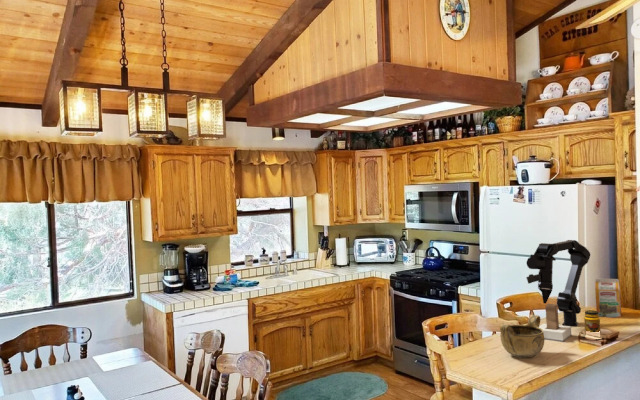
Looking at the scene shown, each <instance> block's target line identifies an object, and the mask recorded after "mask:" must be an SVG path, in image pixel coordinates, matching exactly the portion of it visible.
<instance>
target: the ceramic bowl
mask: <svg viewBox="0 0 640 400" xmlns="http://www.w3.org/2000/svg"><path fill="white" fill-rule="evenodd" d="M539 326H541V317H540V315H537V314H531V315H529V318H528V320H527V323H526V324H507V323H501V324H500V327H499V330H500V336H499V337H500V341H501V342H500V343H501V345H502V347H503V348H504V350H505V351H506V352H507V353H508V354H510V355H512V356H514V357H517V358H521V359H528V358H533V357H535V356H537V355H538V354H540V352H542V350H543V348H544V345H545V339H544V333H543V330H542V329H541V328H539Z"/></svg>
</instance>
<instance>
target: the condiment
mask: <svg viewBox="0 0 640 400" xmlns="http://www.w3.org/2000/svg"><path fill="white" fill-rule="evenodd" d="M583 319H584V331H585V330H586V331H590V332H599V331H600V332H601V321H600V317H598V312H597V310H592V309H591V310H590V309H588V310H585V311H584V317H583Z"/></svg>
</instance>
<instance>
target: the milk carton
mask: <svg viewBox="0 0 640 400" xmlns="http://www.w3.org/2000/svg"><path fill="white" fill-rule="evenodd" d="M594 281H595V286H594V287H595V288H594V289H595V290H594V291H595V306H596V307H595V309H596V310H595V311H597V312H598V317H599V318H605V317H606V318H608V319H622V302H621V289H620V280H619V279H618V278H595V280H594Z"/></svg>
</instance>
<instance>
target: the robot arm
mask: <svg viewBox="0 0 640 400" xmlns="http://www.w3.org/2000/svg"><path fill="white" fill-rule="evenodd" d="M562 251H567V253H568V254H569V255H570V257H569V259H570V262H571V266H570V270H569V273H568V277H567V280H566V284H565V286H564V290H563V291H562V292H559V293H558V295H557V298H556V304H557V305H558V311H559V312H563V315H562V316H563V323H562V324H561V326H570V327H577V326H578V325H579V322H578V320H577V314H581V311H582V310H581V309H582V308H581V307H580V306H579V304H578V299H577V295H576V292H577V289H578V285H579V281H580V278H581V275H582V270H583V268H584V266H586V265H587V264H588V263H589V261H590V258H591V252H590V251H589V249H587V247H585V246H584V245H582V244H581V243H579V241H577V240H572V239H567V240H564V241H560V242H554V243H539V244H538V246H537V248H536V250H535V251H534V253H533V254H530V257H528V258H527V260H526V265H527V268H529V270H539V271H538V273H537V274H533V273H531V274H528V276H526V280H527V284H532V283H535V282H537V283H538V284H537V288H538V290H539V291H540V292H541V295H542V296H541V297H542V302H543V304H546V305H547V302H548V300H549V298H550V296H551V294H552V291H553V287H554V286H553V269H554V267H553V263H554V261H555V262H556V260H557V259H556V258H555V257H554V256H555V255H557V254H558V252H562Z"/></svg>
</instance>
